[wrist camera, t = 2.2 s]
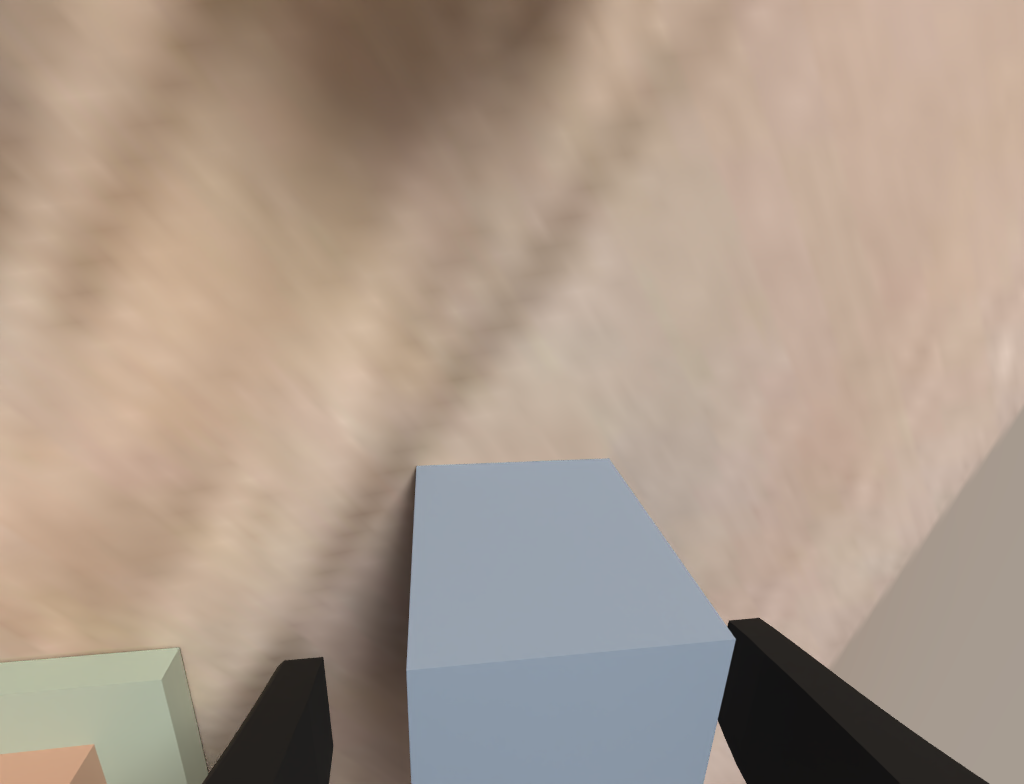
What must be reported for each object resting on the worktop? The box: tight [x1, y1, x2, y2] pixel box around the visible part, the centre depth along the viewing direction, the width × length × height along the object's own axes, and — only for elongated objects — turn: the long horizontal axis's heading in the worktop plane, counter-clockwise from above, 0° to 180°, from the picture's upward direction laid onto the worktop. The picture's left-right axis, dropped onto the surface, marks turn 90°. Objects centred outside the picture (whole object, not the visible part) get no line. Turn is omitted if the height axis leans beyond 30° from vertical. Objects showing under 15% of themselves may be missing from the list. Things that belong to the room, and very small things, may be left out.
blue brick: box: [406, 459, 736, 784], centre depth 10 cm, size 6×4×5 cm, turn 179°
